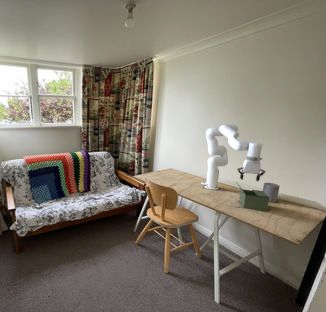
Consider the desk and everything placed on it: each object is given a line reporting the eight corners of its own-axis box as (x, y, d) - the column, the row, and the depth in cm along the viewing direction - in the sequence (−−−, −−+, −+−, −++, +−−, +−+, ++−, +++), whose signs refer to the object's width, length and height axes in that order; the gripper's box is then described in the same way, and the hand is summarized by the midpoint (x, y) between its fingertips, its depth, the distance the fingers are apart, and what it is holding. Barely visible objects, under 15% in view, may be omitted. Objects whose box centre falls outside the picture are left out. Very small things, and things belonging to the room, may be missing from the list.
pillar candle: (259, 196, 166) (262, 180, 163) (274, 198, 161) (277, 182, 158) (263, 201, 158) (266, 184, 155) (278, 203, 153) (282, 185, 150)
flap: (245, 194, 145) (245, 194, 145) (241, 188, 156) (240, 188, 156) (240, 186, 145) (239, 186, 146) (236, 181, 157) (235, 181, 157)
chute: (243, 207, 147) (245, 194, 145) (239, 201, 158) (241, 188, 156) (266, 211, 141) (269, 197, 139) (260, 204, 152) (262, 190, 150)
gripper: (265, 158, 144) (261, 180, 147) (237, 157, 151) (234, 177, 155) (269, 161, 137) (265, 183, 141) (240, 159, 144) (237, 180, 148)
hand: (249, 180), depth 148 cm, fingers open, 9 cm apart
